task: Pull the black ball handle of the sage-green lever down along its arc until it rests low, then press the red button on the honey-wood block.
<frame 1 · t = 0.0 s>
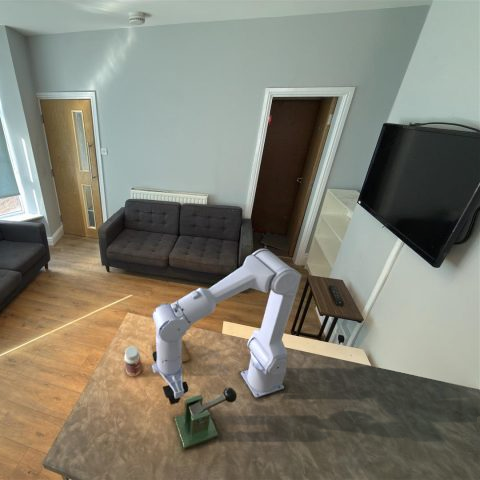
hand: (169, 387, 66), 10 cm above the countertop, tool pointing down, fingers open, 7 cm apart
pill bottle: (133, 370, 82), on the countertop
lever: (213, 402, 64), point 9 cm above the countertop, hinge at 15.0°
button block: (171, 353, 87), on the countertop
bracket: (195, 427, 67), on the countertop
button: (170, 346, 85), point 3 cm above the countertop, slide at 0.1 cm
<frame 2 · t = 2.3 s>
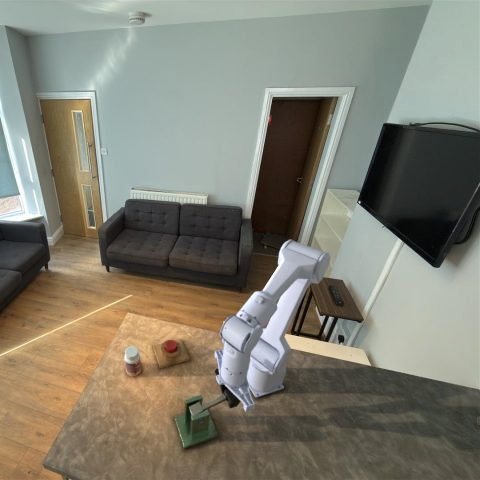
hand: (229, 398, 65), 8 cm above the countertop, tool pointing down, fingers closed on lever, 3 cm apart
lever: (213, 402, 64), point 9 cm above the countertop, hinge at 15.0°, touching gripper
everything else where it was.
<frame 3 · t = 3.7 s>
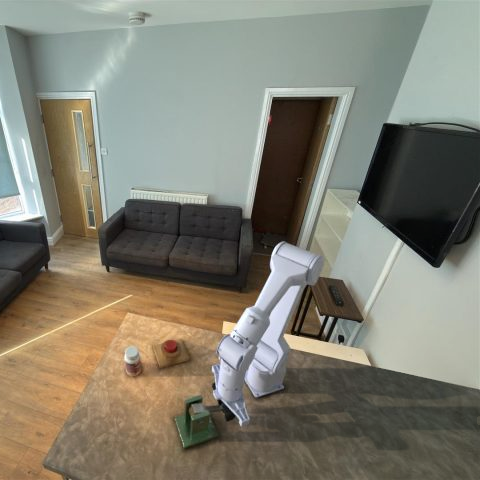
hand: (225, 411, 68), 3 cm above the countertop, tool pointing down, fingers closed on lever, 3 cm apart
lever: (212, 409, 65), point 6 cm above the countertop, hinge at -18.5°, touching gripper
everything else where it was.
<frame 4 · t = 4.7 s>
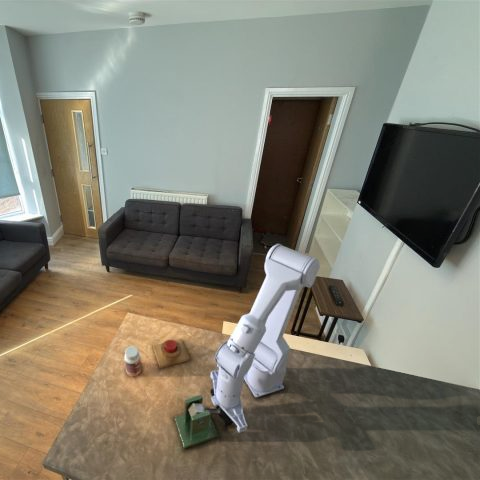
hand: (224, 417, 69), 0 cm above the countertop, tool pointing down, fingers closed on lever, 3 cm apart
lever: (211, 411, 65), point 5 cm above the countertop, hinge at -31.0°, touching gripper
everything else where it was.
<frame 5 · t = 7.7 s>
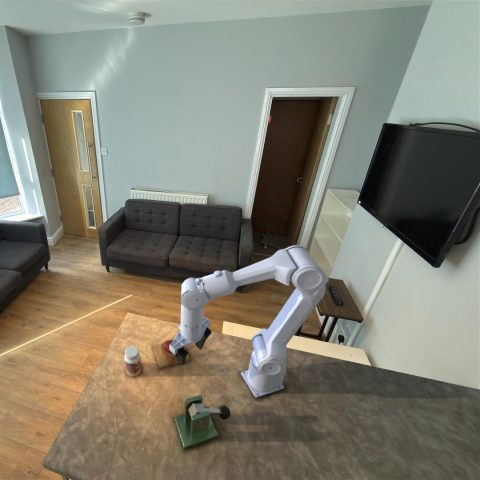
hand: (190, 354, 75), 9 cm above the countertop, tool pointing down, fingers open, 7 cm apart
lever: (211, 411, 65), point 5 cm above the countertop, hinge at -30.6°
everything else where it was.
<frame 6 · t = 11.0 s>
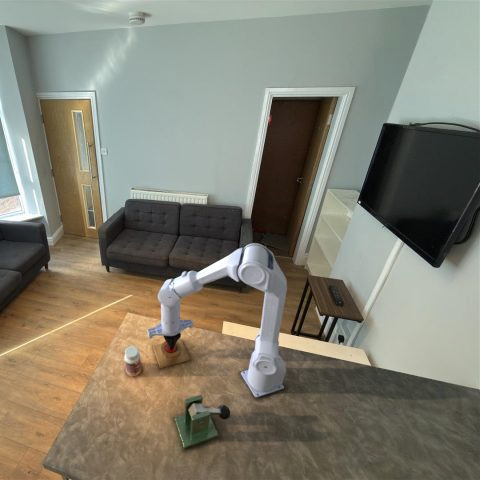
hand: (170, 347, 85), 3 cm above the countertop, tool pointing down, fingers closed, pressing on button
button: (170, 348, 86), point 2 cm above the countertop, slide at -0.9 cm, touching gripper
everything else where it was.
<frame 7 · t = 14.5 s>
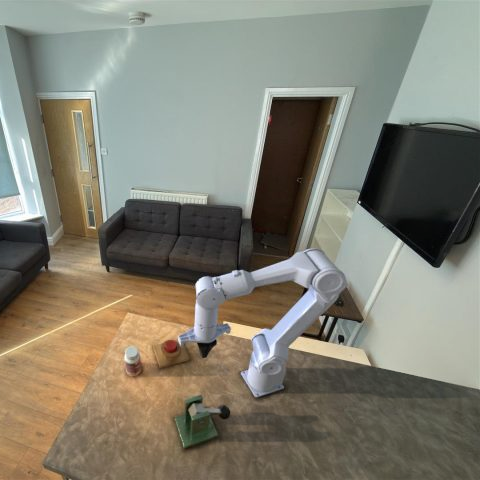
hand: (203, 355, 74), 10 cm above the countertop, tool pointing down, fingers closed
button: (170, 346, 85), point 3 cm above the countertop, slide at 0.1 cm
everything else where it was.
at the end: lever at -31° (first picture: +15°); button pushed in 1.2 cm at the most during the clip, back to where it started at the end; button slide at 0.1 cm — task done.
